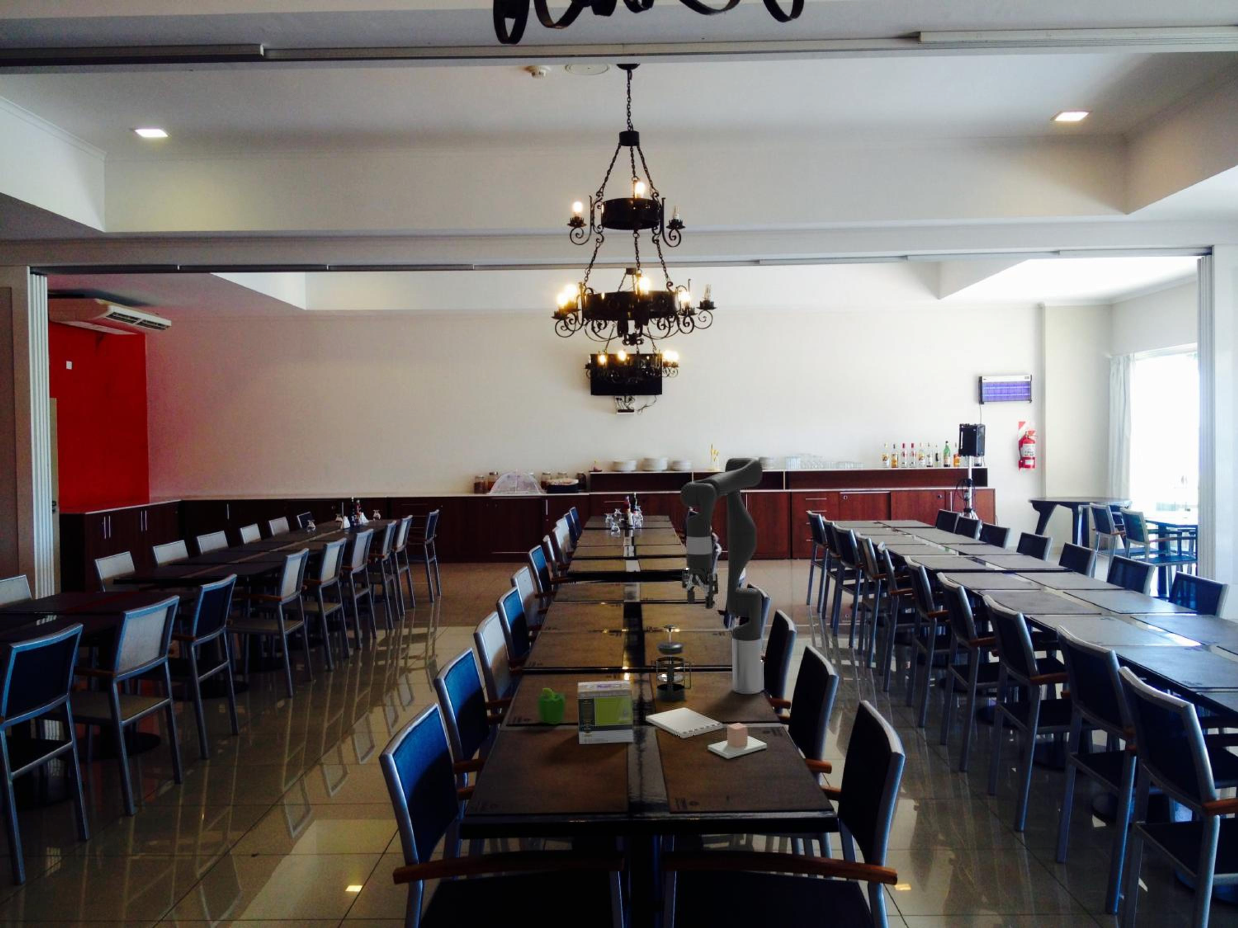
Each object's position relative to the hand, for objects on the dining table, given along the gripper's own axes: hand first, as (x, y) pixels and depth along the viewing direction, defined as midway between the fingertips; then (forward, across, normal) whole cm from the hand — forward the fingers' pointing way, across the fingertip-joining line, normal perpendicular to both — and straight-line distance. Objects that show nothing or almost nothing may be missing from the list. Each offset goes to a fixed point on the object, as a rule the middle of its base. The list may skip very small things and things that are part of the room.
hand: (700, 606), depth 254 cm
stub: (+33, -26, +8) cm, 42 cm away
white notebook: (+33, -2, +8) cm, 34 cm away
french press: (+33, +20, -4) cm, 39 cm away
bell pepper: (+33, +22, +38) cm, 55 cm away
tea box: (+33, +2, +32) cm, 46 cm away
